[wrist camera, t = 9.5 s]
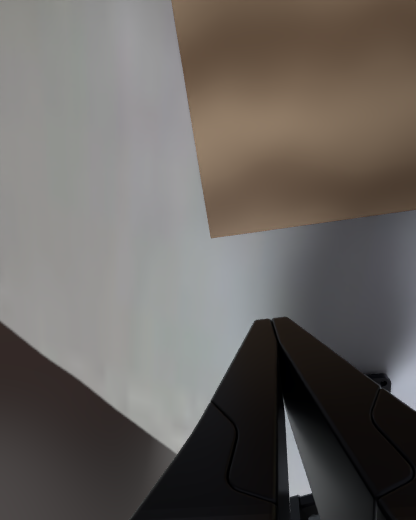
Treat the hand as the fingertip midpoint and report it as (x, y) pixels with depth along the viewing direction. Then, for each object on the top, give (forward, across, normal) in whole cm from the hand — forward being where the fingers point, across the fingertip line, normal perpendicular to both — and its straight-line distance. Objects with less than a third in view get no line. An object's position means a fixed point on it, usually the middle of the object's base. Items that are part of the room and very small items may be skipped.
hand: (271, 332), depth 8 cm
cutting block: (+11, -4, -8) cm, 14 cm away
